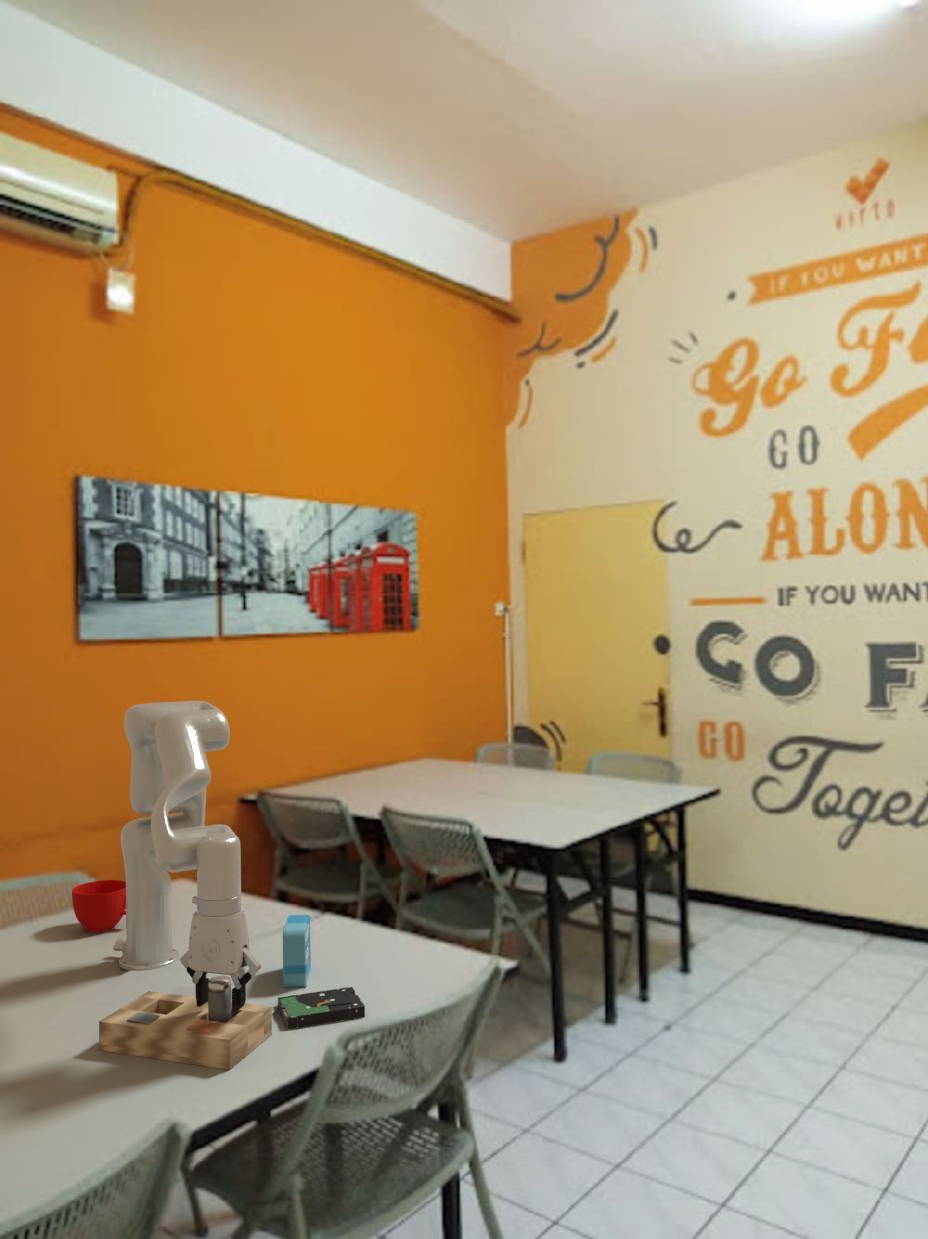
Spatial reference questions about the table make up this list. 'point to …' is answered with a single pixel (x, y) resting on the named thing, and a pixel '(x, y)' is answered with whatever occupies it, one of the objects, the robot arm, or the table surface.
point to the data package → (296, 951)
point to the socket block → (184, 1031)
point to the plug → (219, 999)
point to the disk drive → (320, 1007)
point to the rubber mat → (183, 991)
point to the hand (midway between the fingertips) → (220, 1005)
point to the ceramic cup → (99, 904)
